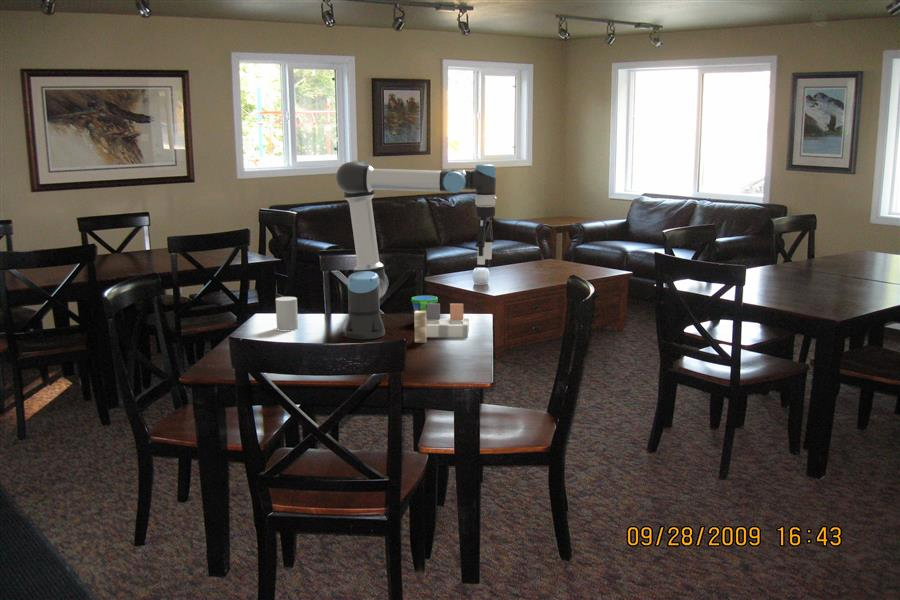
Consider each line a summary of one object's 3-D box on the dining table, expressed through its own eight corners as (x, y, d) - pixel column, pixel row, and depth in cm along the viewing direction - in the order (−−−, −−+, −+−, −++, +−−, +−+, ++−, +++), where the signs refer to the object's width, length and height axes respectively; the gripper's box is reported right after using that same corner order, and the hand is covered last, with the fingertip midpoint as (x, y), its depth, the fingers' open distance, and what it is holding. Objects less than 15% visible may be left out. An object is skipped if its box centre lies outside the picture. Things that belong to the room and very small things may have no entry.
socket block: (419, 337, 314) (419, 309, 312) (422, 329, 326) (421, 303, 324) (467, 337, 313) (467, 309, 311) (468, 329, 325) (468, 303, 323)
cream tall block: (414, 342, 307) (414, 312, 304) (415, 339, 310) (415, 310, 308) (425, 342, 306) (425, 313, 304) (426, 339, 310) (426, 310, 308)
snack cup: (416, 317, 347) (415, 293, 345) (441, 318, 346) (440, 294, 344) (408, 326, 332) (407, 301, 330) (434, 327, 330) (434, 301, 328)
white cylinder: (286, 325, 335) (285, 296, 333) (302, 327, 331) (301, 297, 329) (272, 329, 328) (271, 299, 326) (288, 332, 324) (287, 301, 322)
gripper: (488, 209, 304) (488, 267, 308) (501, 203, 328) (500, 257, 332) (468, 208, 306) (468, 266, 310) (482, 202, 330) (481, 256, 334)
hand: (484, 261), depth 321 cm, fingers open, 13 cm apart
